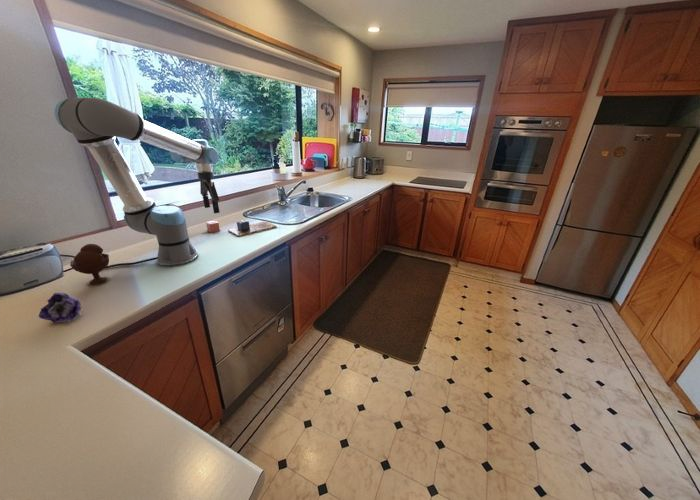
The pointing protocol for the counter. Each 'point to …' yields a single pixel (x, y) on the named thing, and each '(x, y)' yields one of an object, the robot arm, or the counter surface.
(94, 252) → the ice cream bowl
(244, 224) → the dark grey cube
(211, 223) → the orange block
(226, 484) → the counter surface
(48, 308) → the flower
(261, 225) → the word board
